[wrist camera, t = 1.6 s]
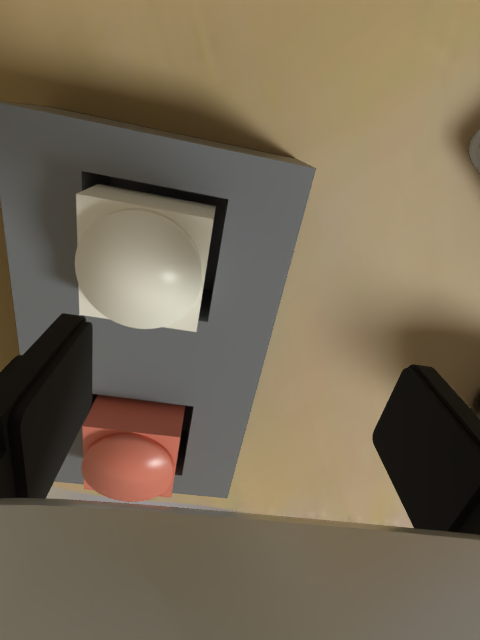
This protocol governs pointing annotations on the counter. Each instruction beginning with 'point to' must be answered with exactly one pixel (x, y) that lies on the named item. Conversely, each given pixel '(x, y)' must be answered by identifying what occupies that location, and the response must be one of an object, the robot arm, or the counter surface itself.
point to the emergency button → (475, 150)
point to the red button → (131, 447)
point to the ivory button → (141, 257)
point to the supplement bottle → (477, 407)
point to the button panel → (220, 279)
